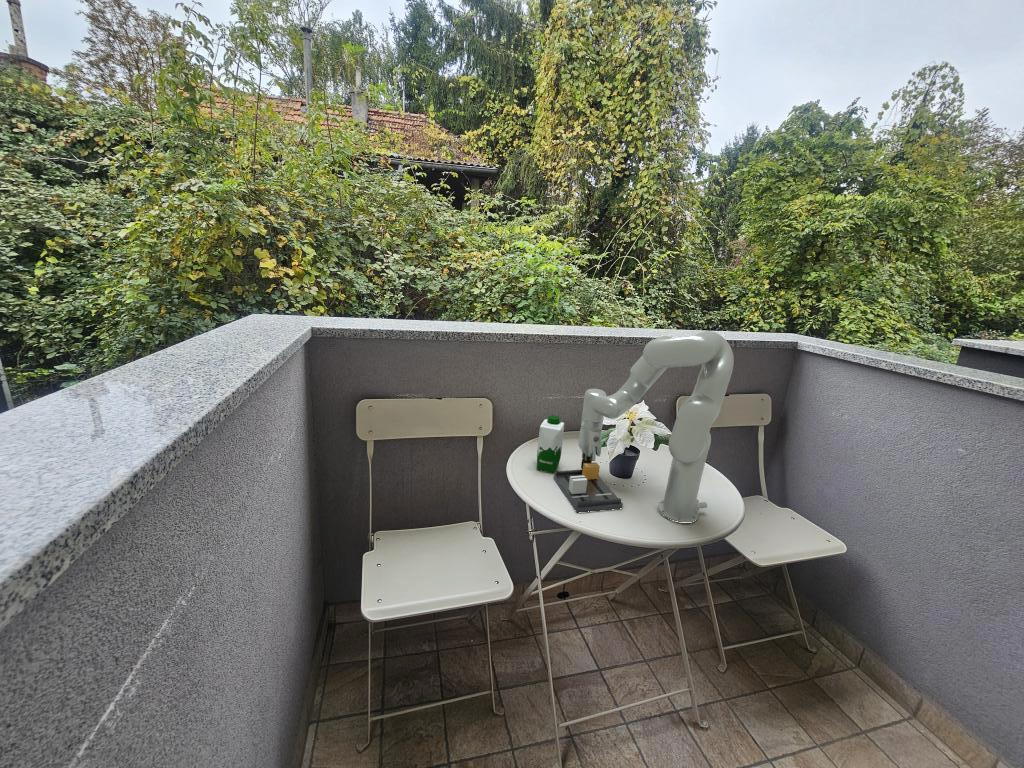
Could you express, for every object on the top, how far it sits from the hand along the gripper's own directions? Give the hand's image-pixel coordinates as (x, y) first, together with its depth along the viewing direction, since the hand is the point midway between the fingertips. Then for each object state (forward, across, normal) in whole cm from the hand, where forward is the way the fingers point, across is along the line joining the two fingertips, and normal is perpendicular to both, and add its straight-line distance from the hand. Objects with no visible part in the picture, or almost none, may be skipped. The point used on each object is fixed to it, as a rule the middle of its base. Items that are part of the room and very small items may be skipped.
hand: (585, 469), depth 163 cm
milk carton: (+4, +9, +12) cm, 15 cm away
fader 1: (+1, -12, +8) cm, 15 cm away
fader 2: (+1, -4, 0) cm, 4 cm away
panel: (+3, -10, +4) cm, 12 cm away
